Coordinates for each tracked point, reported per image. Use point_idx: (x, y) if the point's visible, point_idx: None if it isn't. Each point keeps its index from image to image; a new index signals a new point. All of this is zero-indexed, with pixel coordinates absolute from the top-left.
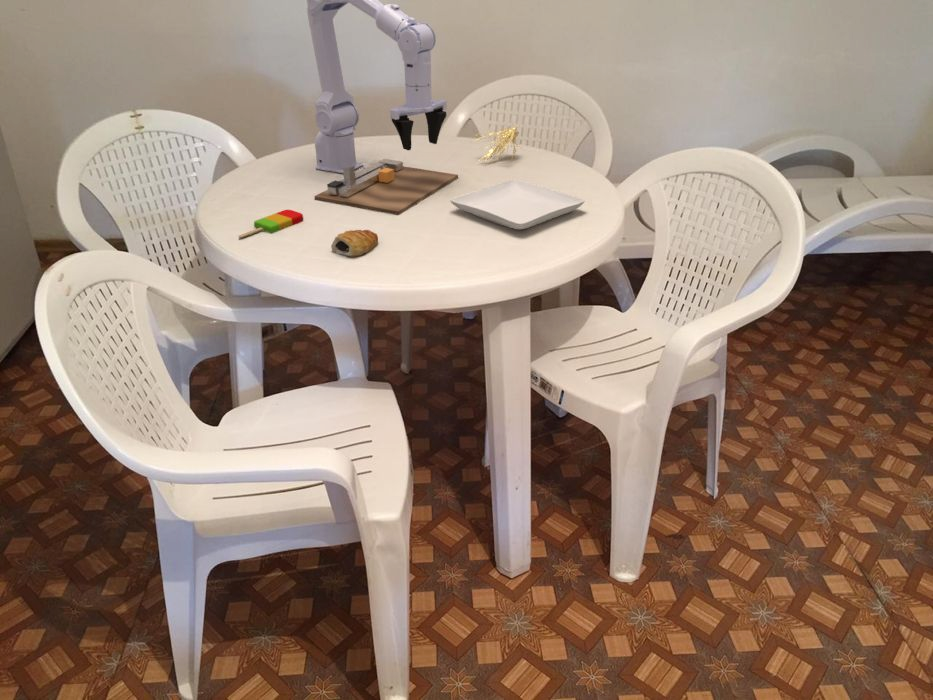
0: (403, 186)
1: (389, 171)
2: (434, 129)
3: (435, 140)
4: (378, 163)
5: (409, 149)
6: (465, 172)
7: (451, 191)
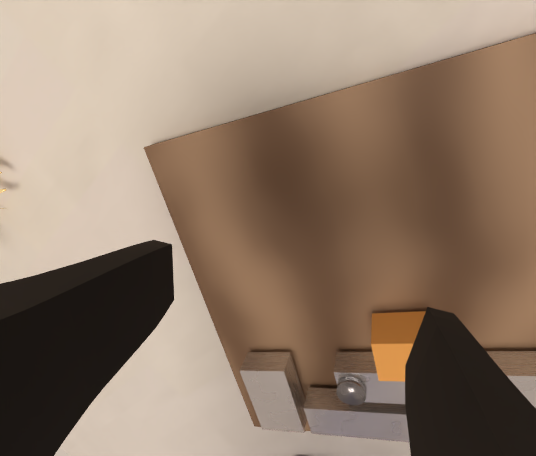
0: (418, 235)
1: (412, 343)
2: (79, 321)
3: (151, 251)
4: (317, 426)
5: (449, 313)
6: (95, 169)
7: (290, 29)
